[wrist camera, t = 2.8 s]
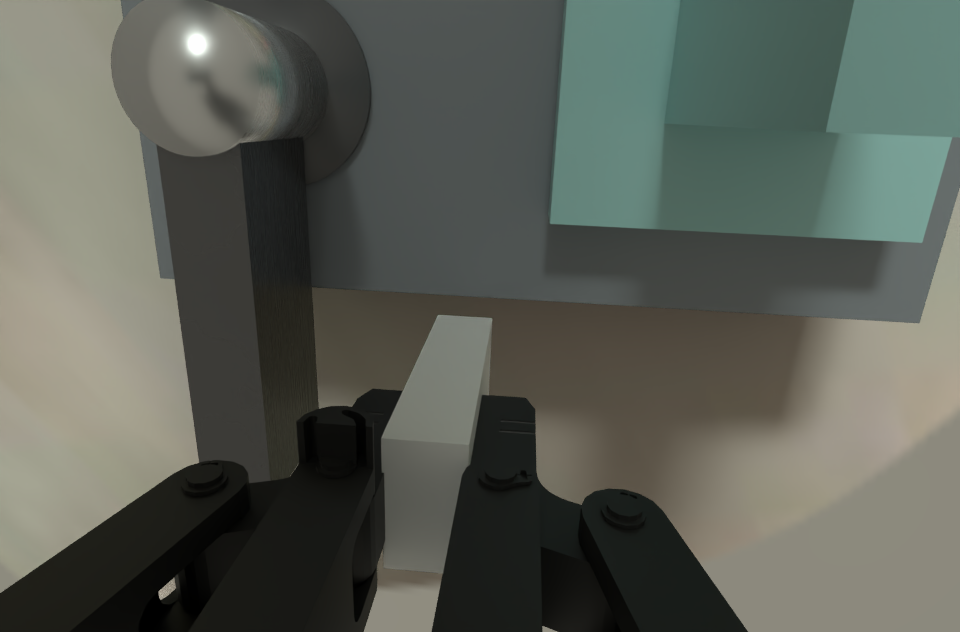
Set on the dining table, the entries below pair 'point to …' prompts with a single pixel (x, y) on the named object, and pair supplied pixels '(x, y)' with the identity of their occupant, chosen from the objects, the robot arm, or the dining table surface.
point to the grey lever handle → (232, 213)
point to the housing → (520, 181)
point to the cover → (755, 115)
